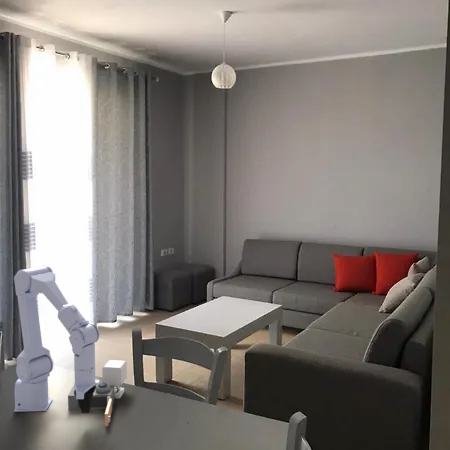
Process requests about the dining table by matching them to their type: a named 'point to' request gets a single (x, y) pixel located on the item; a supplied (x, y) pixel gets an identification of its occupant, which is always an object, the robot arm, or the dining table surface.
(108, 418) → the hatch
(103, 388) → the housing
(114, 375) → the security camera
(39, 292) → the robot arm
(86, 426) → the dining table surface
